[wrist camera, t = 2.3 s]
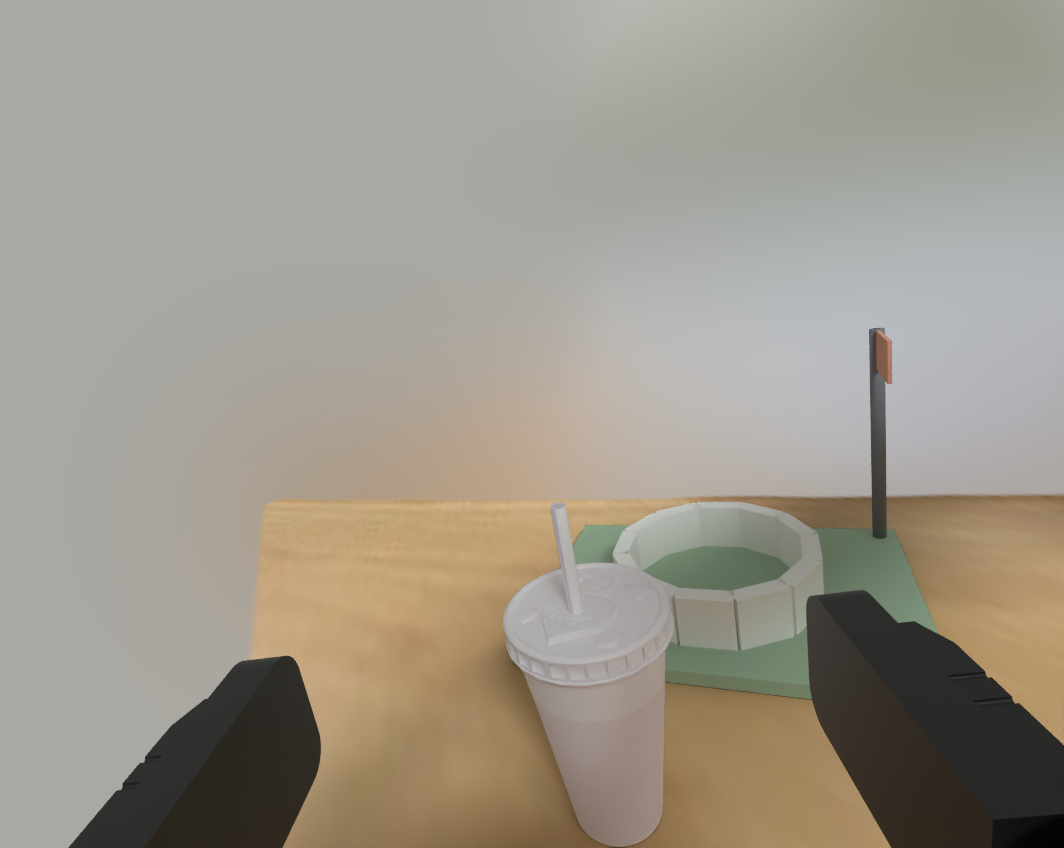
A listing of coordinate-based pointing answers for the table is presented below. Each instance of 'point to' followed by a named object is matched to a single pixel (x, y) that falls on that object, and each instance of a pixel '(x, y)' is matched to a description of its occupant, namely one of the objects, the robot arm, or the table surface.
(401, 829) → the table surface
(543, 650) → the smoothie
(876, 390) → the practice green
